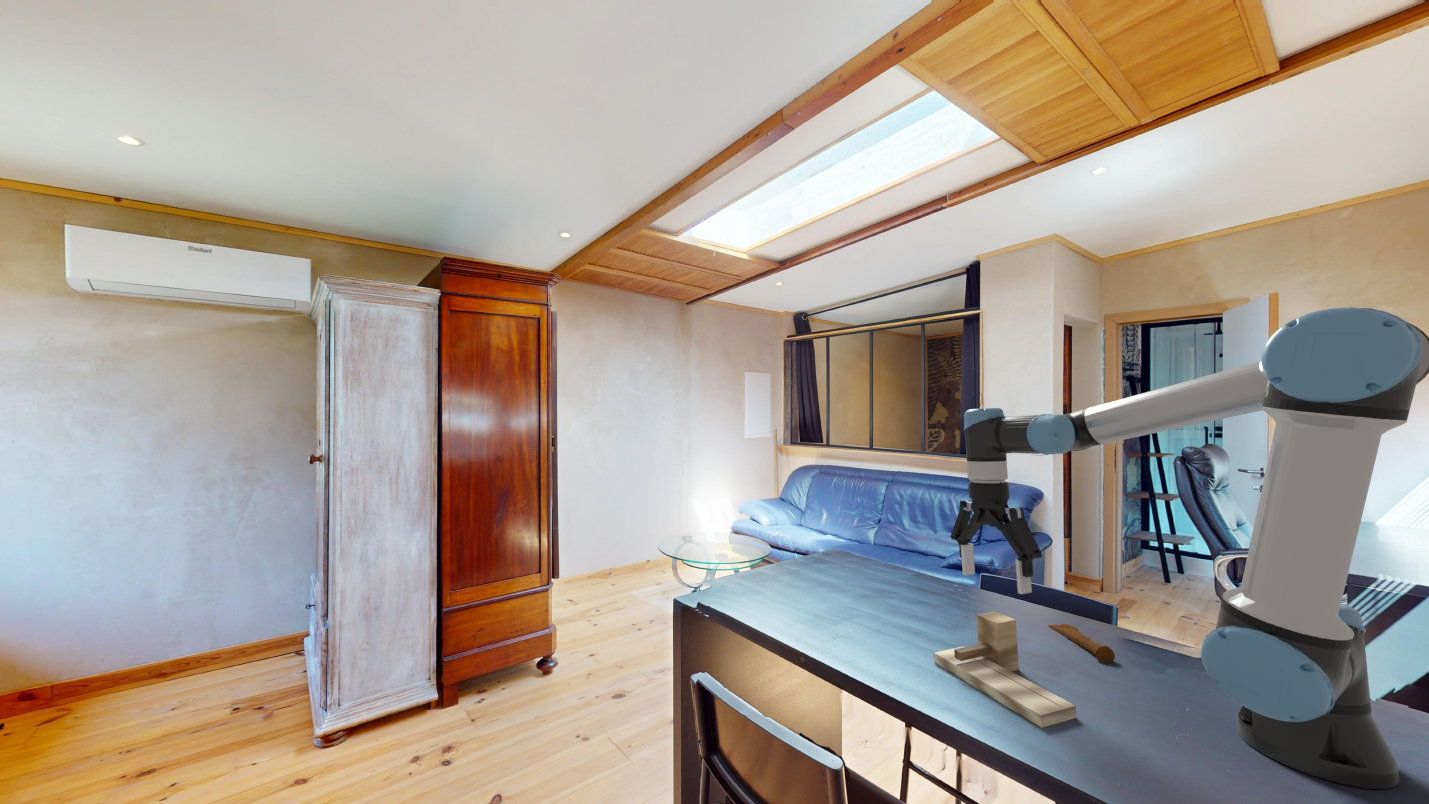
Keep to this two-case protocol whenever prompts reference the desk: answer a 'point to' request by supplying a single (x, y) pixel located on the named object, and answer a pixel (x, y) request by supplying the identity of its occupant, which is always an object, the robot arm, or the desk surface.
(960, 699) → the desk surface
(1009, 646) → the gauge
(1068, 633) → the primitive tool
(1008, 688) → the board
